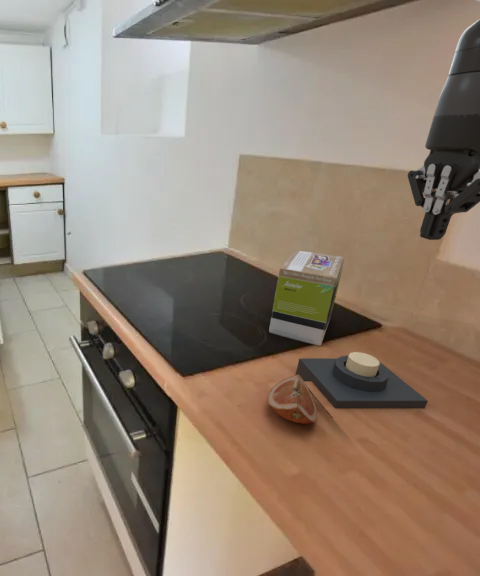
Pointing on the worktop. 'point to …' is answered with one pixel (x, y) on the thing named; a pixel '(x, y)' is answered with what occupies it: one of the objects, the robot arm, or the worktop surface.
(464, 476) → the worktop surface
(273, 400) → the fruit slice
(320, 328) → the tea box
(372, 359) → the button
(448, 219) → the robot arm
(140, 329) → the worktop surface
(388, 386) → the dark grey button base
